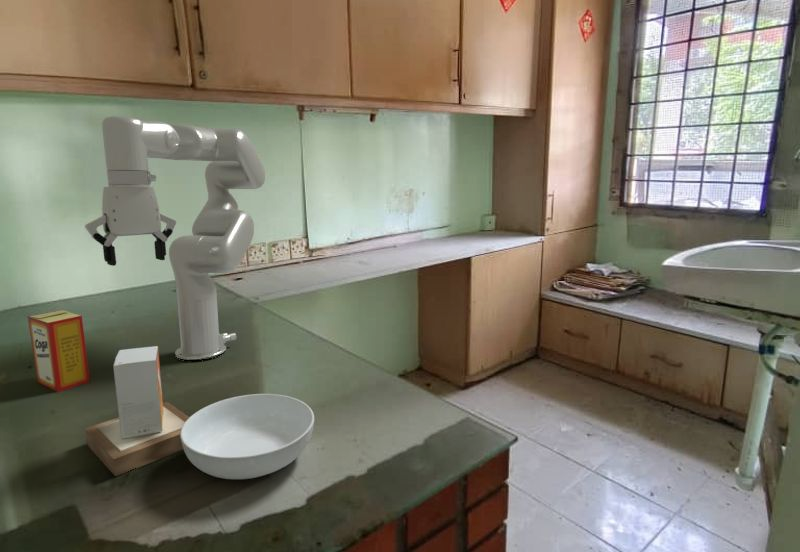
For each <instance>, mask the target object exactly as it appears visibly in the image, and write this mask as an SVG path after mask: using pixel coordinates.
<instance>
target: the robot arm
mask: <svg viewBox="0 0 800 552" xmlns="http://www.w3.org/2000/svg"><path fill="white" fill-rule="evenodd" d="M101 130H102V131H101V132H102V138H103V139H102V140H103V149H104V157H105V158H104V159H105V165H106V176H107V186H103V190H102V199H101V200H102V203H101V205H102V208H101V211H102V212H101V214H102V215H100V216H99V217H98V218H96V219H94V220H91V221H90V222H88V223H86V224H85V225H84V228H85V229H86V231H87V232H88V233H89V235H91V238H92V239H94V240H95V241H96V242H98V243H99V244H100V245H101V246H102V252H103V259H104V262H105V263H106V264H107V265H109V266H116V265H117V257H116V256H117V255H116V251H115V249H116V247H115V246H114V245H113V243H114V241H116V239H117V238H118V237H125V236H126V237H127V236H142V235H143V236H144V235H152V237H154V238H155V239H156V240H155V241H154V254H155V259H156V260H160V261H165V260H166V255H167V250H166V247H167V246H166V242H167V241H168V239H169V237H171V235H172V234H173V232H174V229H175V227H176V224H177V221H176V220H175V219H173V218H170V217H168V216H166V215H164V214H161V213H160V207H159V202H158V198H157V195H156V192H155V189H154V186H151V184H152V183H151V182H156V180H157V176H156V175H155V174H151V171H150V170H149V161H148V160H149V159H151V158H152V159H162V160H174V161H192V162H193V161H199V162H209V163H208V164H207V166H206V168H205V171H204V172H205V173H204V174H205V175H204V178H205V184H206V189H207V197H208V198H207V201H206V203H205V204H204V206H203V207H202V209H201V210H200V211H199V213H198V214H197V217H196V218H195V220H194V222H193V224H192V227H191V233H192V235H191V234H190V235H182V236H179V237H177V238H175V239H174V240H173V241H171V244H170V246H169V248H168V257H169V261H170V266H171V268H172V272H173V276H174V281H175V290H176V301H177V313H178V324H179V336H180V346H179V348H177V349H176V350H175V352H174V355H176V356H175V358H176V357H177V358H176V359H178V358H180V359H188V360H189V359H201V358H206V357H211V356H215V355H218V354H221V353H223V352H224V351H225V350H226V351H227V345H226V343H227V342H230V341H235V340H237V334H236V333H235V332H231V333H227V332H223V333H220V331H219V330H220V327H219V314H218V299H217V298H218V296H217V287H216V284H215V282H214V281H213V280H214V279H213V278H212V277H211V275H210V274H231V273H233V272H234V271H237V269H239V266H240V264H241V263H242V261H243V259H244V257H245V255H246V253H247V251H248V249H249V247H250V245H251V244H252V243H251V242H252V241H253V239H254V233H255V224H254V220H253V218H252V216H251V215H250V214H249V213H248V212H247V211H244V210H240V209H239V206H238V205H239V204H238V203H237V201H236V199H235V198H234V197H233V195H232V194H231V193H230V191H229V190H257V189H259V188H261V187H262V186H263V185H264V184H265V181H266V171H265V169H264V165H263V162H262V161H261V158H260V157H259V155H258V153H257V151H256V149H255V147H254V145H253V143H252V142H251V140H250V139H249V137H248V135H246V133H244V132H243V131H242V130H240V129H239V128H238V129H237V128H208V127H201V126H195V125H189V124H168V123H166V122H164V121H162V120H161V121H160V120H140V119H139V118H136V117H131V116H122V115H120V116H119V115H117V116H114V115H112V116H111V115H110V116H108V117H105V118H103V119H102V123H101ZM162 223H165V224H166V225H165V228H164V230H163V231H161V230H162ZM100 226H102V227H103V229H102V230H103V232H104V233H105V234H104V236H103V235H102V234H100V232H98V230H97V229H98V227H100ZM180 359H179V360H180Z"/></svg>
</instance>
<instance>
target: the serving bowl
mask: <svg viewBox="0 0 800 552" xmlns="http://www.w3.org/2000/svg"><path fill="white" fill-rule="evenodd" d="M189 417H190V418H189V419H188V420H187V421H186V422H185V423H184V425H183V426H182V429H181V433H180V438H181V442H182V446H183V451H184V454H185V455H186V457H187V459H188V461H190V463H191V464H192V465H193V466H195V467H196V468H197V469H198V470H200V471H201V472H203V473H206V474H207V475H210V476H212V477H215V478H219V479H225V480H248V479H254V478H258V477H263V476H266V475H269V474H272V473H275V472H277V471H279V470H281V469H282V468H285V467H286V466H288V465H290V464H292V462H293V461H295V460H296V459H297V458H298V457H299V456H301V454H302V453H303V451H304V450H305V449H306V447H307V446H308V444H309V442H310V440H311V438H312V435H313V432H314V431H313V430H314V426H315V414H314V412H313V410H312V408H311V406H310V405H308V404H307V403H305V402H304V401H302V400H301V399H298V398H294V397H292V396H288V395H283V394H275V393H256V394H254V393H253V394H245V395H239V396H234V397H230V398H226V399H222V400H219V401H217V402H214V403H211V404H209V405H207V406H205V407H202V408H201V409H199V410H198V411H196V412H195V413H193V414H192V415H190V416H189Z"/></svg>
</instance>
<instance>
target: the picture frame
mask: <svg viewBox="0 0 800 552" xmlns="http://www.w3.org/2000/svg"><path fill="white" fill-rule="evenodd" d="M163 411H164V412H163V424H162V430H163V431H162V432H157V433H152V434H147V435H142V436H136V437H131V438H125V439H121V433H120V423H119V417H116V418H113V419H110V420H106V421H103V422H100V423H98V424H95V425H91V426H88V427H85V428H84V434H85V441H86V445H87V447H89V449H90V450H91V451H92V452H93V453H94V454H95V455H96V456H97V458H98V457H99V460H100V461H101V462H102V463H103V465H104V466H105V467H106V468H107V469H108V470H109V471H110V472H111V473H112V474H113V476H114V477H115V476H117V477H119V476H121V475H120V474H122V475H124V474H126V472H127V473H128V471H129V472H131V471H130V470H132V469H134V470H136V469H138V468H141V467H143V466H144V467H145V466H146V465H148V464H151V463H153V462H155V461H158V460H160V459H163V458H166V457H169V456H171V455H173V454H176V453H178V452H180V451H184V449H183V446H182V442H181V438H180V433H181V429H182V426H183V425H184V423H185V422H186V421H187V420H188V419H189V418H190V417H191V416H188V415H187V414H185V413H184V412H182V411H181V410H179V409H178V408H177V407H176V406H174V405H172V403H170V402H168V401H165V402H163ZM135 468H136V469H135ZM132 471H133V470H132ZM123 473H124V474H123ZM118 475H119V476H118Z"/></svg>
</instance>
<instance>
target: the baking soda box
mask: <svg viewBox="0 0 800 552" xmlns="http://www.w3.org/2000/svg"><path fill="white" fill-rule="evenodd" d="M27 321H28V326H29V334H30V340H31V347H32V355H33V361H34V368H35V375H36V382H37V383H38V384H40V385H42V386H44V387H46V388H49V389H50V390H53V391H55V392H57V393H60V392H63V391H65V390H68V389H72V388H75V387H78V386H80V385H83V384H87V383H90V381H91V380H90V373H89V364H88V357H87V356H88V355H87V348H86V339H85V332H84V331H85V330H84V324H83V323H84V322H83V316H82V315H81V314H78V313H77V314H76V313H72V312H69V311H68V310H63V309H59V310H53V311H49V312H48V311H47V312H42V313H38V314H33V315H28V316H27Z"/></svg>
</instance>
